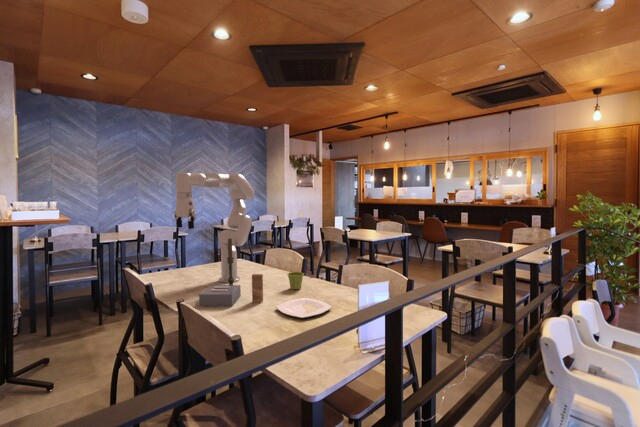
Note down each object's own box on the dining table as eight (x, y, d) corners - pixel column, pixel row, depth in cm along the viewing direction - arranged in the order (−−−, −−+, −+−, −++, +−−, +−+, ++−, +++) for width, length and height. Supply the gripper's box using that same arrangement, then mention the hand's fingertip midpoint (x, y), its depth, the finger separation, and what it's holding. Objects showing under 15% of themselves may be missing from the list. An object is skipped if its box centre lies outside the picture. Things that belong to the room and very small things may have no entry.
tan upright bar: (253, 301, 172) (252, 274, 171) (263, 301, 172) (262, 274, 171) (252, 302, 169) (251, 275, 168) (262, 302, 169) (261, 275, 168)
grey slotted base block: (210, 296, 180) (210, 283, 180) (240, 296, 180) (240, 283, 179) (199, 306, 164) (199, 293, 164) (232, 306, 164) (231, 293, 163)
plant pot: (284, 289, 191) (284, 274, 190) (293, 285, 199) (293, 271, 199) (298, 292, 187) (298, 276, 186) (306, 287, 195) (306, 272, 194)
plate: (269, 310, 159) (269, 306, 159) (305, 299, 175) (305, 295, 175) (301, 324, 143) (301, 320, 143) (338, 310, 159) (338, 306, 159)
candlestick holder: (224, 293, 184) (223, 239, 181) (221, 289, 192) (219, 237, 190) (241, 291, 188) (240, 238, 186) (237, 287, 196) (236, 235, 194)
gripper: (200, 196, 178) (201, 228, 179) (180, 195, 187) (181, 226, 188) (188, 196, 172) (189, 229, 173) (167, 196, 181) (168, 227, 182)
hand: (185, 228), depth 181 cm, fingers open, 9 cm apart
